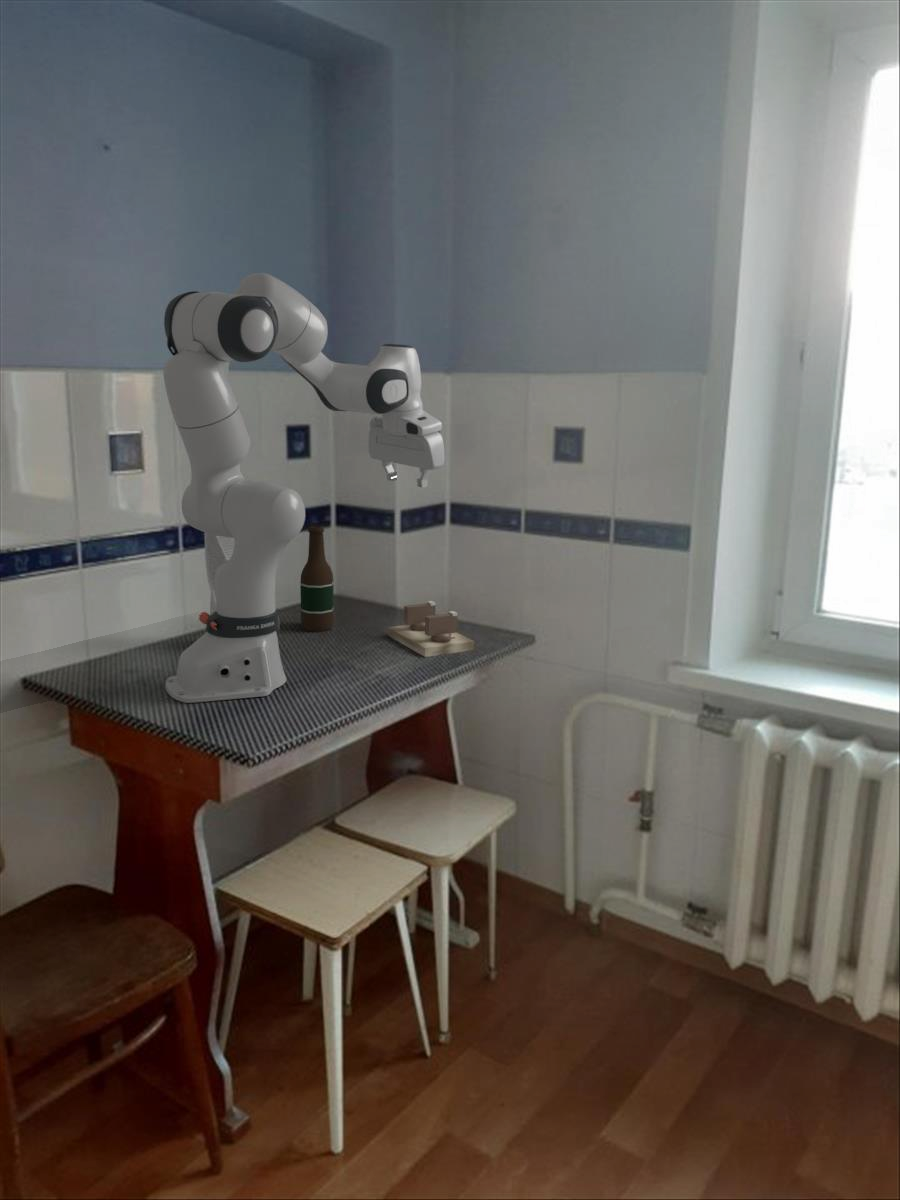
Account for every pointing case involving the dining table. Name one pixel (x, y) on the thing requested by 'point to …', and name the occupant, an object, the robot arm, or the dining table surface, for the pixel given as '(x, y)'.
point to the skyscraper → (216, 560)
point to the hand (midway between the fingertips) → (407, 483)
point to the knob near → (441, 626)
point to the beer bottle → (317, 586)
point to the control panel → (429, 641)
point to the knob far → (418, 614)
